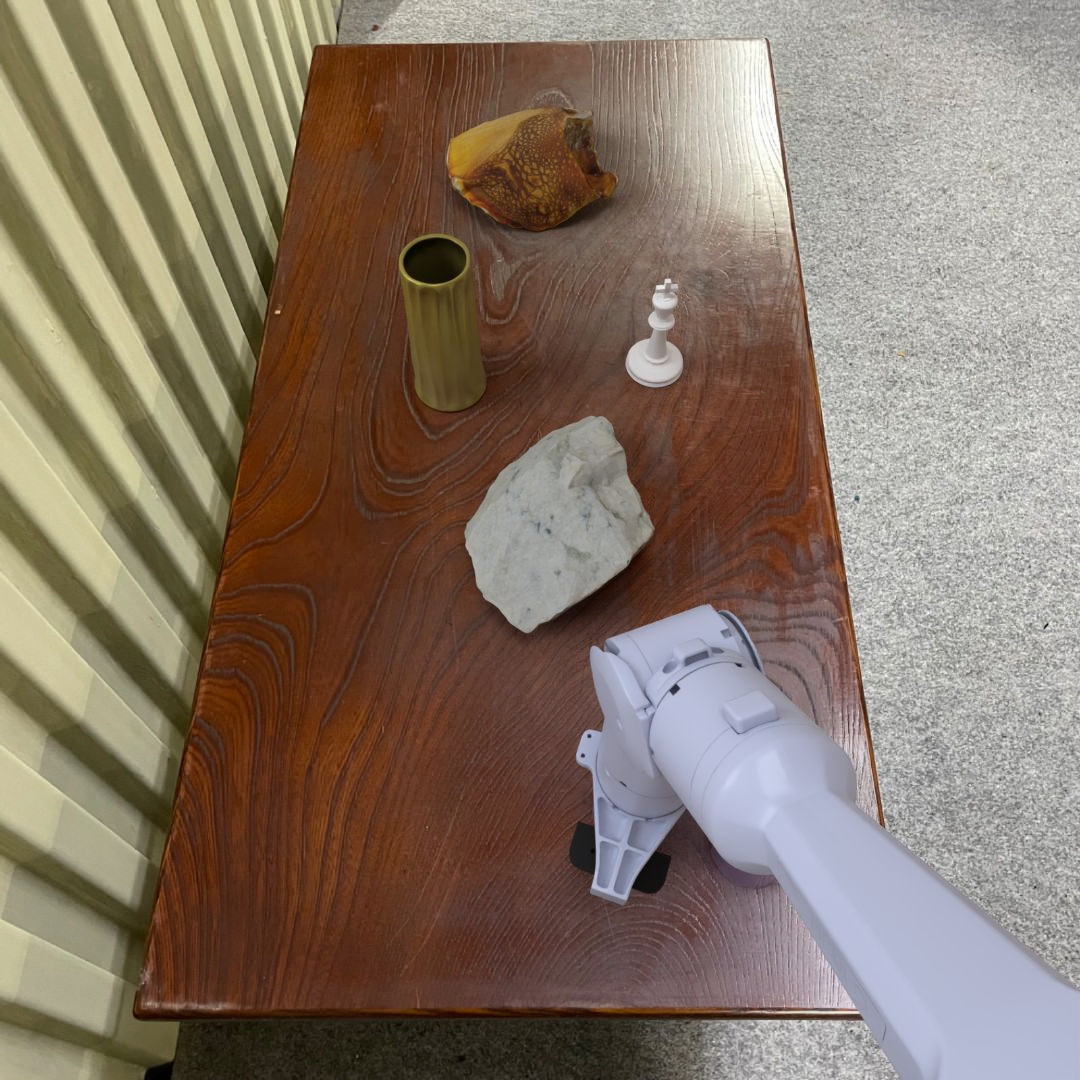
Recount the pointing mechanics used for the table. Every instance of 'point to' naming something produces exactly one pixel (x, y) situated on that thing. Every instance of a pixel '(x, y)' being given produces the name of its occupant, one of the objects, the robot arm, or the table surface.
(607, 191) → the seashell
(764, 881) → the purple round peg
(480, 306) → the table surface
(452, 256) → the vase
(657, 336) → the chess piece
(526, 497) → the rock
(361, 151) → the table surface
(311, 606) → the table surface
